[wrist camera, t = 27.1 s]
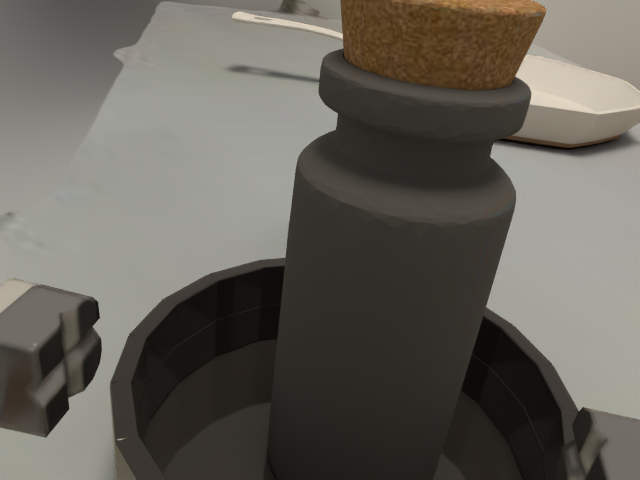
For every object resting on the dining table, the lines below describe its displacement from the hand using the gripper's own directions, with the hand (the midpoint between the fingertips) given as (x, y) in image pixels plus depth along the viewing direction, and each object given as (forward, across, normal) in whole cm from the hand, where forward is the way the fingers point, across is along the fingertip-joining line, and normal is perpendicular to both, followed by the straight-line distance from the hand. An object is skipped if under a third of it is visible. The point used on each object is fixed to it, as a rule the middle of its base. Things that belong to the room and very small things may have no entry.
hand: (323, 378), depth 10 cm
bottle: (+7, -1, +10) cm, 12 cm away
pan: (+60, -1, +10) cm, 61 cm away
